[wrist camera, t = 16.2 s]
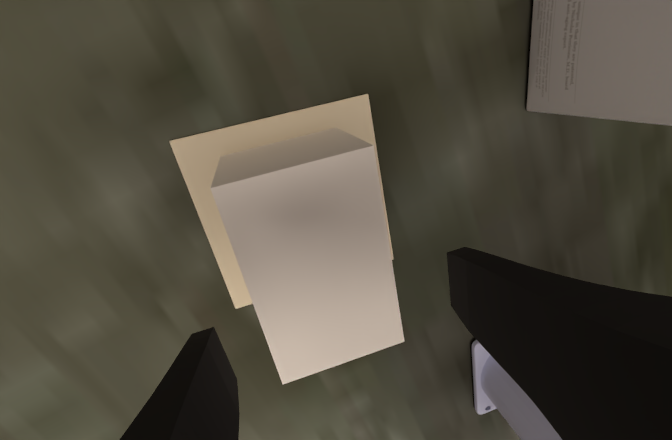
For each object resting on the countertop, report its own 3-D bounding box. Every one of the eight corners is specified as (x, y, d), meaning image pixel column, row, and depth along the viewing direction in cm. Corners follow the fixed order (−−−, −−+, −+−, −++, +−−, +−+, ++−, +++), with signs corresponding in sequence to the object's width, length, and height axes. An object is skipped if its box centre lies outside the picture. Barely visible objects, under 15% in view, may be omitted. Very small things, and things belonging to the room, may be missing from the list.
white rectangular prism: (220, 155, 17) (210, 188, 12) (335, 126, 18) (373, 145, 13) (272, 307, 21) (282, 384, 16) (364, 278, 22) (404, 341, 17)
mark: (366, 93, 18) (368, 93, 18) (392, 257, 22) (393, 259, 22) (169, 140, 17) (169, 141, 16) (235, 306, 21) (235, 309, 20)
